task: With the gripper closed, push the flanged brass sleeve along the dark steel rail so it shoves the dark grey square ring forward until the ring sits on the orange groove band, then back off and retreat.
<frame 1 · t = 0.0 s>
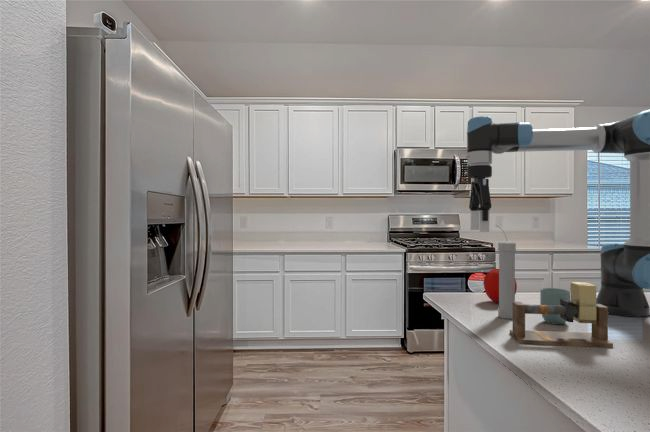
hand: (479, 230, 132), 28 cm above the countertop, fingers open, 13 cm apart
tomato: (499, 303, 153), on the countertop
rail: (558, 340, 108), on the countertop
sleeve: (583, 302, 107), point 10 cm above the countertop, slide at -6.0 cm
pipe: (505, 317, 132), on the countertop
cup: (555, 323, 125), on the countertop
dark grey square ring: (566, 310, 108), point 8 cm above the countertop, slide at -2.0 cm
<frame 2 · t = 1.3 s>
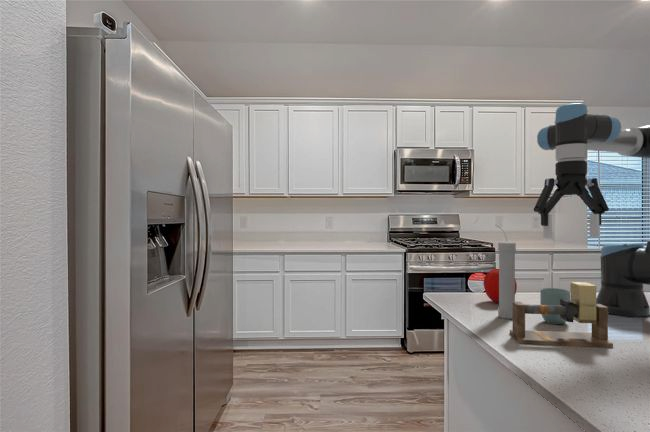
hand: (571, 237, 113), 27 cm above the countertop, fingers open, 13 cm apart
nothing on the countertop moved.
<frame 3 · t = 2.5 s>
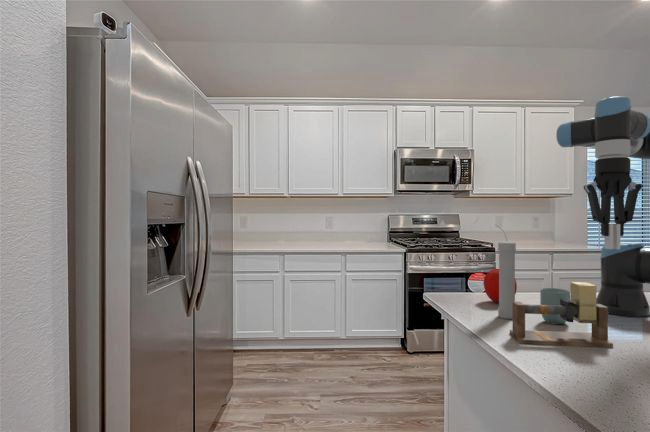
hand: (612, 248, 106), 24 cm above the countertop, fingers closed
nothing on the countertop moved.
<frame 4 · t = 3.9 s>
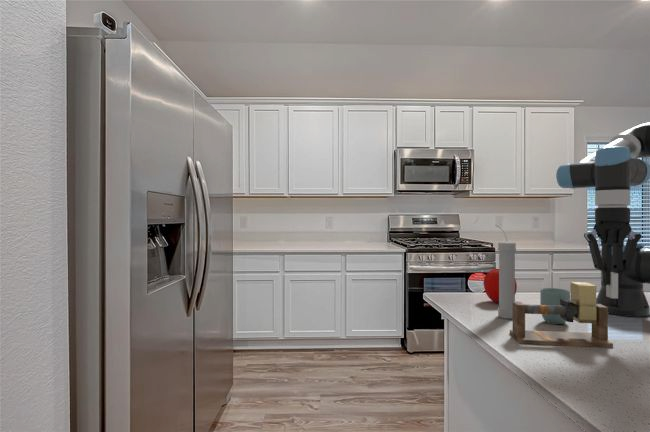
hand: (612, 297, 106), 12 cm above the countertop, fingers closed
nothing on the countertop moved.
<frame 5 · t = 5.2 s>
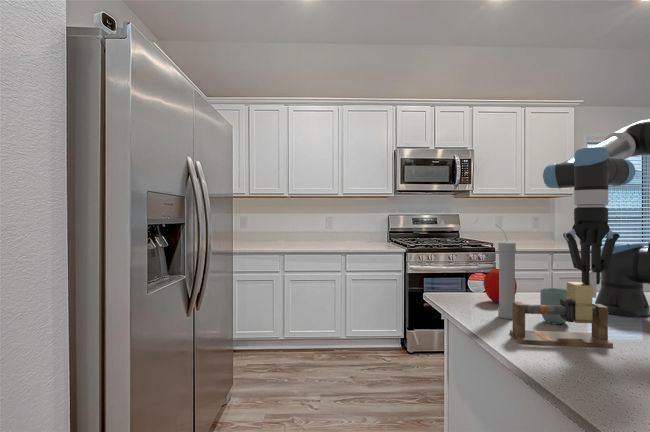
hand: (590, 296, 107), 12 cm above the countertop, fingers closed
sleeve: (579, 302, 107), point 10 cm above the countertop, slide at -5.1 cm, touching gripper
everything else where it was.
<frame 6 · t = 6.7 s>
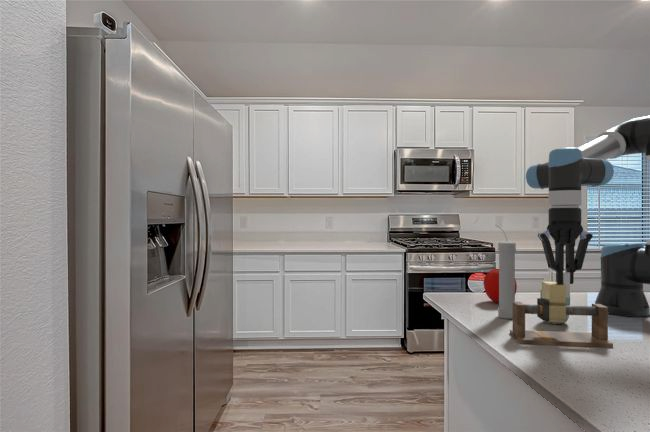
hand: (564, 296, 108), 12 cm above the countertop, fingers closed
sleeve: (553, 301, 108), point 10 cm above the countertop, slide at 1.3 cm, touching gripper, dark grey square ring
dark grey square ring: (543, 309, 108), point 8 cm above the countertop, slide at 3.9 cm, touching sleeve
everything else where it was.
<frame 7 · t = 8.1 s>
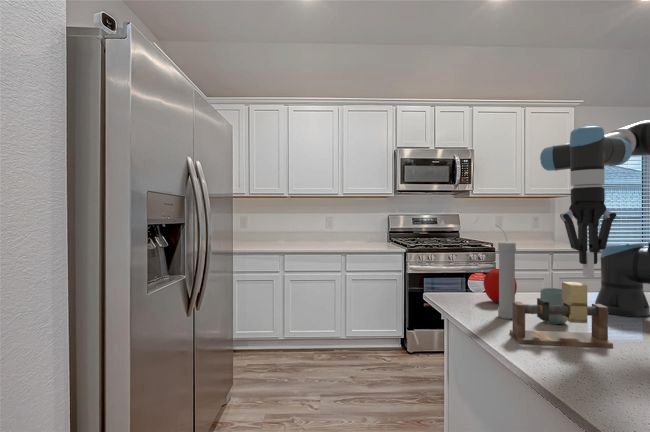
hand: (588, 276, 107), 17 cm above the countertop, fingers closed
sleeve: (574, 301, 107), point 10 cm above the countertop, slide at -3.8 cm
dark grey square ring: (542, 309, 108), point 8 cm above the countertop, slide at 3.9 cm
everything else where it was.
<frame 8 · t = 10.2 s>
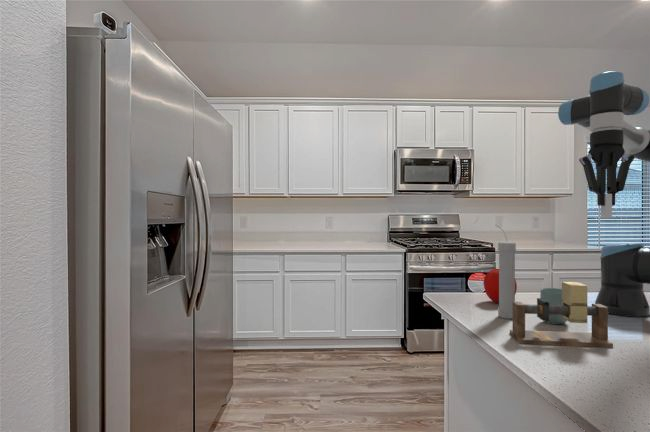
hand: (606, 217, 110), 32 cm above the countertop, fingers closed
nothing on the countertop moved.
at the end: dark grey square ring slide at 3.9 cm; sleeve slide at -3.8 cm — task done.
